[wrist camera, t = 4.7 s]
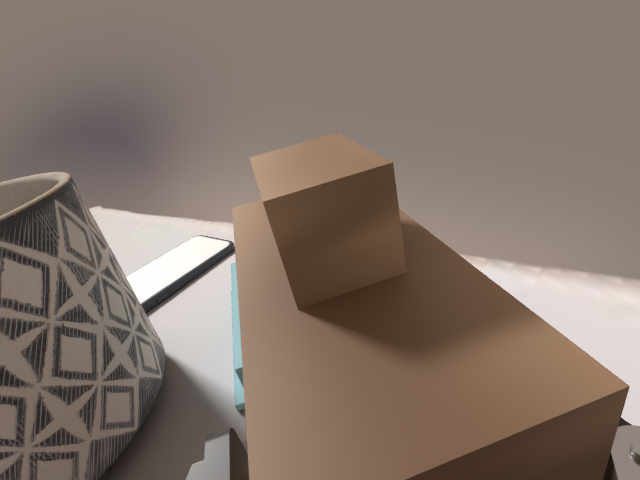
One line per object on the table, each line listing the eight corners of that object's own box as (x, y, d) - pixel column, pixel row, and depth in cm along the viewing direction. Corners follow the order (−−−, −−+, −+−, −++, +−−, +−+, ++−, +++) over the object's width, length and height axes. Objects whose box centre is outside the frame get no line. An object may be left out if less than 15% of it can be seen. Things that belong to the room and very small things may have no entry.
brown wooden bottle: (410, 775, 10) (156, 399, 2) (326, 459, 18) (209, 145, 10) (537, 709, 10) (678, 211, 3) (400, 430, 18) (339, 109, 11)
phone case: (201, 243, 51) (91, 310, 41) (197, 233, 51) (84, 299, 40) (241, 251, 46) (126, 332, 35) (237, 241, 45) (119, 319, 35)
